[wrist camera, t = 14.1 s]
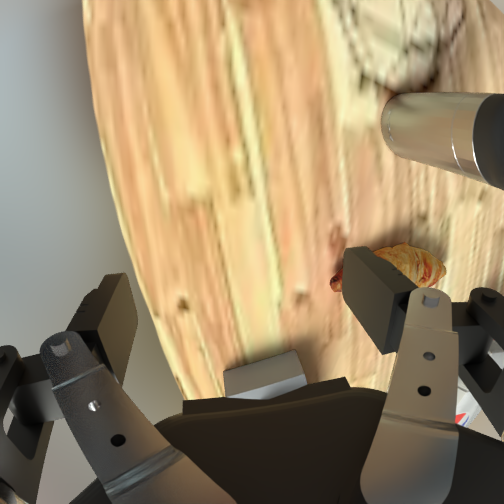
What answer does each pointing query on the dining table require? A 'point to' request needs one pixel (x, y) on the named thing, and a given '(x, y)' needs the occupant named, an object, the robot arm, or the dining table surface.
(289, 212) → the dining table surface
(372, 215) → the dining table surface
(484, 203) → the dining table surface
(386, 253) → the croissant
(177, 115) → the dining table surface
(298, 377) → the grey box
